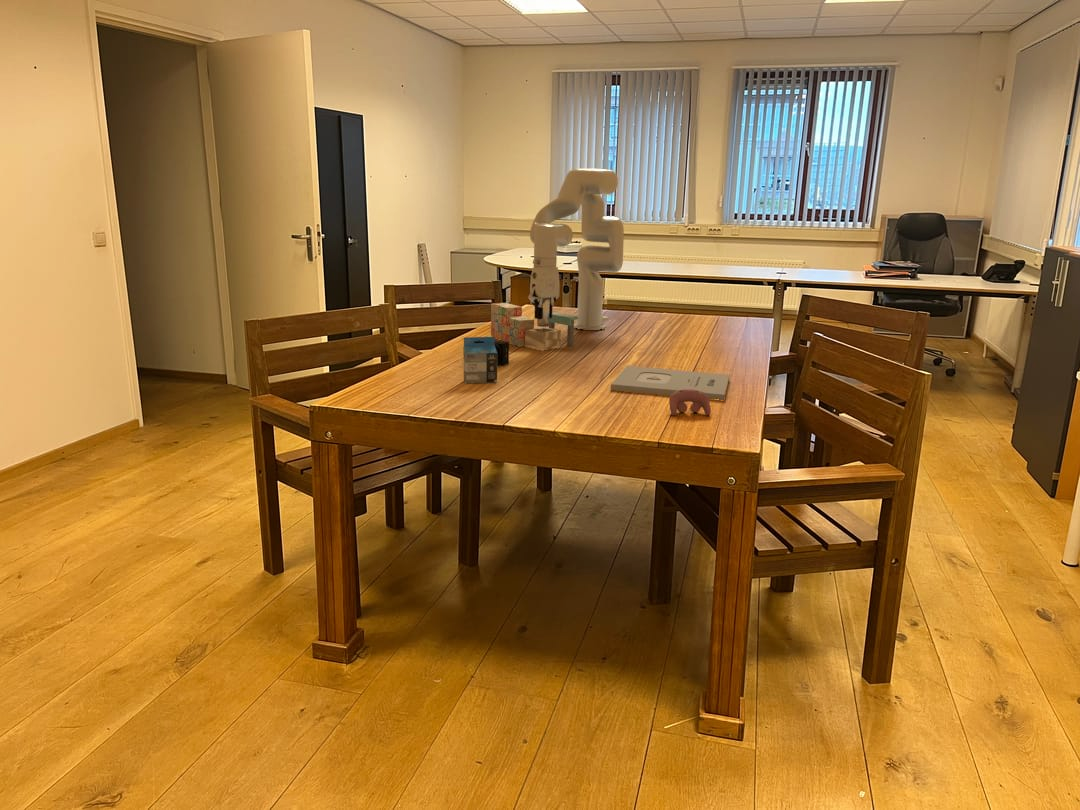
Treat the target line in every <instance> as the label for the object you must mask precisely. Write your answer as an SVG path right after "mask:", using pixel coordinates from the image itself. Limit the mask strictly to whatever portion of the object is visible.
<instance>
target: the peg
mask: <svg viewBox="0 0 1080 810" xmlns="http://www.w3.org/2000/svg"><path fill="white" fill-rule="evenodd" d="M538 302H539V299H538ZM541 307H543V318H542V319H536V320H537V323H536V325H537V327H539V328H541V327H546V328H549V311H550V298H543V300H542V306H541Z"/></svg>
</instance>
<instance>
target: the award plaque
mask: <svg viewBox="0 0 1080 810" xmlns="http://www.w3.org/2000/svg"><path fill="white" fill-rule="evenodd" d="M730 377H731V376H730V374H728V373H715V372H705V371H704V372H702V371H691V370H680V369H670V368H657V367H648V366H646V367H645V366H644V367H643V366H634V365H626V366H625V368H623V370H622V371H620V373H619V374H618V376H617V377H616V378H615V379H614V380H613V381H612V382H611V383H610V391H612V390H616V392H623V391H627V393H633V392H634V393H635V394H644V393H648V394H647V395H654V394H659V395H658V396H665V395H671V394H673V393H674V392H676V391H680V390H684V389H692V390H697V391H702V392H704V394H706V395H707V397H708V399H719V400H724V401H725V399H724V398H726V395H725V394H727V391H728V387H727V386H729V383H728V382H730ZM726 390H727V391H726Z"/></svg>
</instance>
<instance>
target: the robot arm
mask: <svg viewBox="0 0 1080 810" xmlns="http://www.w3.org/2000/svg"><path fill="white" fill-rule="evenodd" d="M618 181H619V178H618V174H616V171H614V170H612V169H601V168H573V169H571V170H569V171H568V173H567V174H566V176H565V179H564V181H563V183H562V185H561V187H560V190H559V192H558V194H557V197H556V198H555V199H553V200H552V201H550V202H549V203H548V204H546V205H545V206H543V207H542V208H541V209H540V210H539V211H538V212H537V214H536V215H535V218H534V219H533V222H532V224H531V227H530V231H529V238H530V241H531V242H532V244H533V245H534V246H533V260H532V264H533V267H532V269H531V275H530V284H529V294H528V296H527V298H528V300H529V301H530V302H531V303H532V305H533V307H534V318H533V319H534V320H535V319H536V320H537V319H542V318H543V307H541V306H542V300H543V298H550V311H549V318H552V312H553V307H554V306H555V303H556V301H557V299H559V298H560V292H561V291H560V288H561V286H560V284H561V283H560V274H559V267H558V266H557V260H558V259H557V256H558V254H557V253H558V247H560V248H563V247H567V246H569V245H570V244H571V242H572V240H573V236H574V233H573V230H572V228H571V226H570V225H569V224H565V223H555V221H557V220H560V219H564V218H567V217H570V216H573V215H574V214H576V213H577V212H578V211H579V210H580V208H581V227H580V228H581V229H580V230H581V237H582V239H583V240H584V241H585V242H590V243H602V244H608V246H605V245H603V246H602V245H593V244H592V245H583V246H582V247H580V248H579V249H578V251H577V254H576V263H577V269H578V289H577V291H578V293H577V294H578V295H577V312H576V313H577V314H576V316H578V320H576V323H575V322H574V329H576V328H577V330H580V329H583V330H582V331H601V330H600V329H602V330H605V329H606V325H605V324H604V322H609V320H610V318H609V317H608V316H603V299H604V298H603V296H604V281H603V278H602V276H601V275H600V273H599V272H601V273H617V272H620V270H621V269H622V266H623V263H624V243H625V242H624V241H625V240H624V239H625V238H624V236H625V235H624V234H625V232H624V229H625V228H624V224H623V222H622V220H621V219H620V218H618V217H614V216H605V201H604V199H603V197H602V195H612V194H614V193H615V192H616V190H617V188H618V184H619V183H618ZM553 222H554V223H553ZM538 299H539V302H538ZM604 328H605V329H604Z"/></svg>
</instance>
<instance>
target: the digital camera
mask: <svg viewBox="0 0 1080 810" xmlns="http://www.w3.org/2000/svg"><path fill="white" fill-rule="evenodd" d="M474 343H484V341H480V340H478V341H475V342H474ZM494 345H495V348H496V351H497V365H498V366H497V367H504V366H507V365H509V364H508V363H509V360H510V359H509V357H510V356H509V355H510V344H509V342H506V341H500V340H498V339H494ZM506 364H507V365H506Z"/></svg>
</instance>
